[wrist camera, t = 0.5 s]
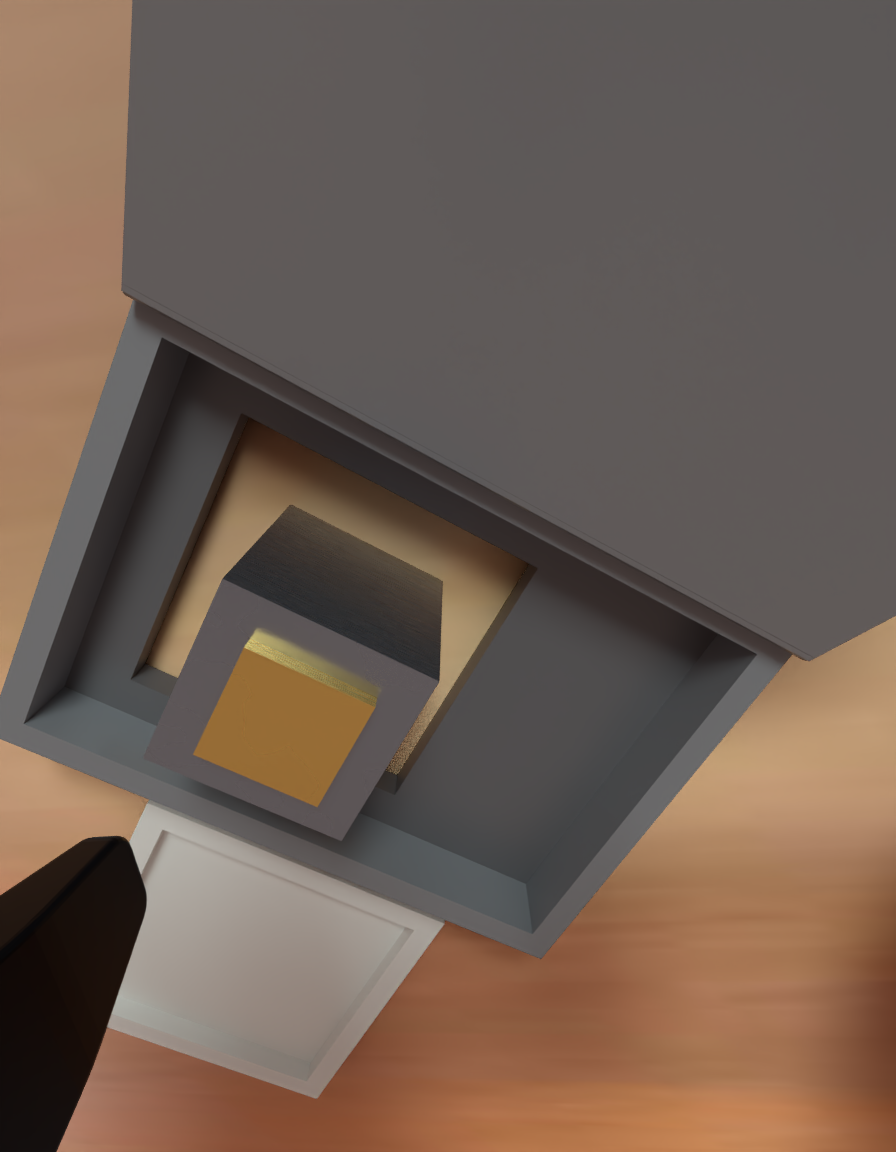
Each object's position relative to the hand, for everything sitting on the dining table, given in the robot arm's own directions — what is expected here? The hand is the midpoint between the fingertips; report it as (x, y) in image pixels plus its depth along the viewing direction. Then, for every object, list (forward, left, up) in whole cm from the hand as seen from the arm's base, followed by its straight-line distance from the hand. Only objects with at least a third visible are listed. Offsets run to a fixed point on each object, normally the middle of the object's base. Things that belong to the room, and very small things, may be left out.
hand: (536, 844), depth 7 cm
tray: (0, +19, -13) cm, 23 cm away
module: (+3, +5, -13) cm, 14 cm away
